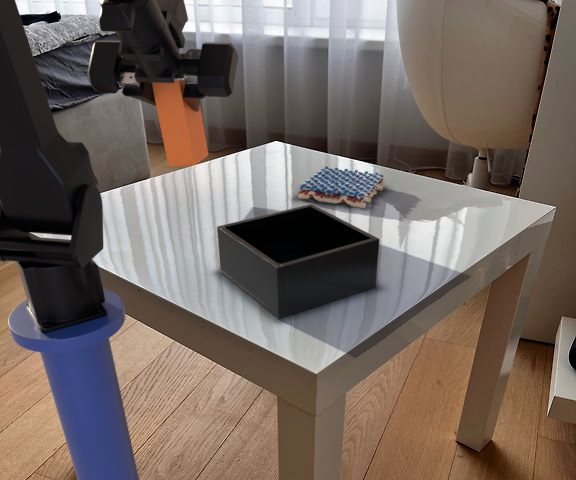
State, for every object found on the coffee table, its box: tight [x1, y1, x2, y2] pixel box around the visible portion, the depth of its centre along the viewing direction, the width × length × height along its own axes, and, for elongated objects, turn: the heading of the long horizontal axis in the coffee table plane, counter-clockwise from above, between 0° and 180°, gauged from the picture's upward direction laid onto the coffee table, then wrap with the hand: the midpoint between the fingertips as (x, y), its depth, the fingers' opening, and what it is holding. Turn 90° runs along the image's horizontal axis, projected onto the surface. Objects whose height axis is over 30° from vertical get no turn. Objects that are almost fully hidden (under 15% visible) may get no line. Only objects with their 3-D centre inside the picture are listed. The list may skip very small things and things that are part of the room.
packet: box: [152, 80, 209, 167], centre depth 85 cm, size 6×4×13 cm
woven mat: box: [297, 166, 386, 209], centre depth 89 cm, size 10×11×2 cm
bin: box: [216, 203, 380, 320], centre depth 65 cm, size 12×12×6 cm
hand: (183, 107), depth 86 cm, fingers closed on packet, 4 cm apart
